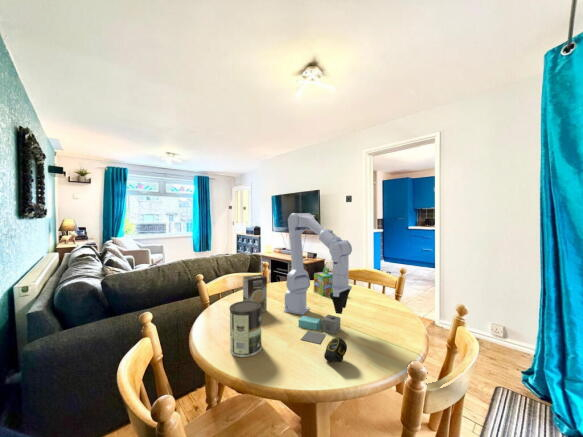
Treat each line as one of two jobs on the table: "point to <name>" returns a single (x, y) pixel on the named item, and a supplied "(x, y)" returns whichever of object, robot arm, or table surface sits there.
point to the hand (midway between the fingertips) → (340, 310)
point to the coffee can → (245, 328)
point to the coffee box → (255, 290)
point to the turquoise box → (310, 322)
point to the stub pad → (313, 337)
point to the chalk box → (323, 282)
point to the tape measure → (335, 350)
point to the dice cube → (331, 324)
